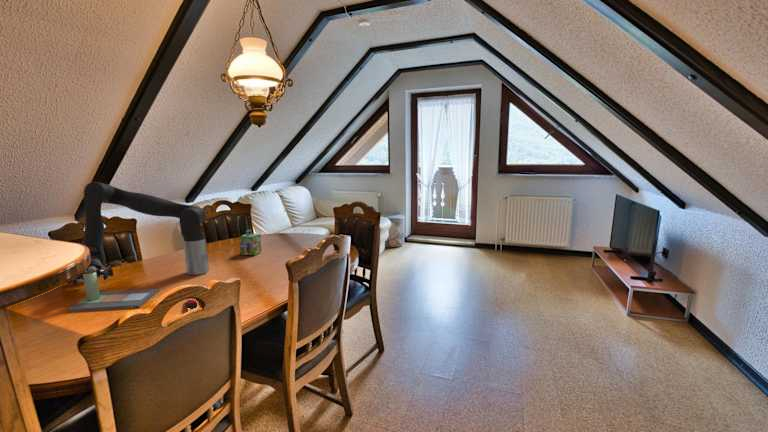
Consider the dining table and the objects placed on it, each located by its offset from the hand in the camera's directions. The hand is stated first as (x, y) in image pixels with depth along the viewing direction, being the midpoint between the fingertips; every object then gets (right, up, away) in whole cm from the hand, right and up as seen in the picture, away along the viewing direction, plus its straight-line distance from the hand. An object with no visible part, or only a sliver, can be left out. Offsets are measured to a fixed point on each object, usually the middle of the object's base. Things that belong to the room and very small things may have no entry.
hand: (90, 280), depth 131 cm
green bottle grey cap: (-1, -8, +3) cm, 9 cm away
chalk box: (+35, +2, +71) cm, 79 cm away
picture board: (+6, -9, +5) cm, 12 cm away
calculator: (+44, -11, +5) cm, 46 cm away
